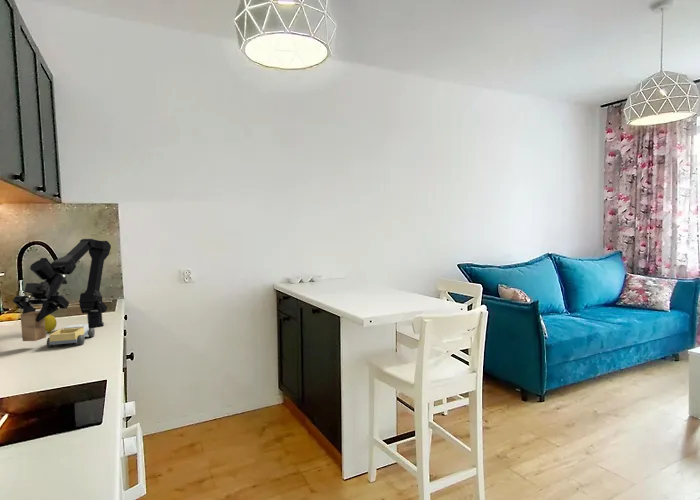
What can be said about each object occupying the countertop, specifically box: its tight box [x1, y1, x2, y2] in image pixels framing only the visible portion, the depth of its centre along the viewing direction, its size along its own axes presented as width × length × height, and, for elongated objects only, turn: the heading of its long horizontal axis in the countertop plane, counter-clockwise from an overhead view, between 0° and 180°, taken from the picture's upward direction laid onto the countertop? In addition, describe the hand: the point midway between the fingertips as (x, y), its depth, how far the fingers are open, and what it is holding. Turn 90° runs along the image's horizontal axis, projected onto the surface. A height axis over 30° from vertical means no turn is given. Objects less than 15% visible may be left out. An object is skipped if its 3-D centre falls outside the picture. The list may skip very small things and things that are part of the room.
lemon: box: [45, 314, 57, 334], centre depth 182 cm, size 6×6×8 cm
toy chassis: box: [46, 323, 96, 348], centre depth 166 cm, size 16×11×5 cm
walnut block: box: [20, 310, 47, 342], centre depth 158 cm, size 5×5×10 cm
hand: (29, 321), depth 157 cm, fingers closed on walnut block, 5 cm apart
